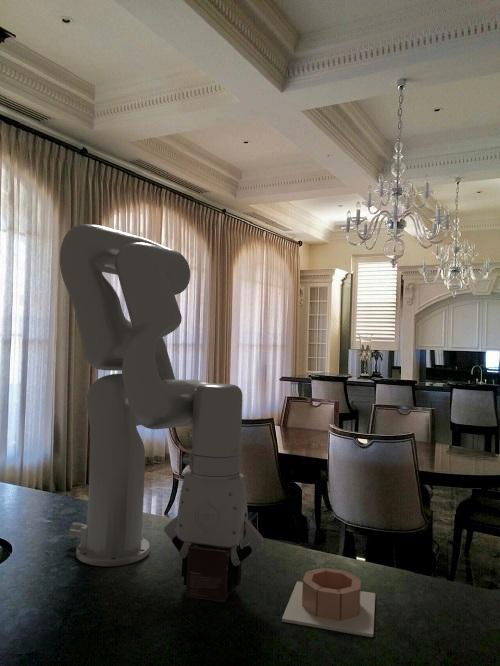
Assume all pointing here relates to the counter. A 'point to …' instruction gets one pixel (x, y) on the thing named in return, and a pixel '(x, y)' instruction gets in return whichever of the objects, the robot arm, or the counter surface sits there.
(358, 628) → the placemat
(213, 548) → the box
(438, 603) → the counter surface
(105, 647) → the counter surface
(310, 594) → the bowl
